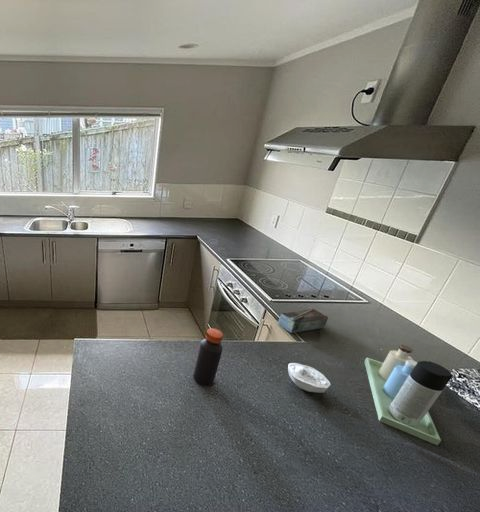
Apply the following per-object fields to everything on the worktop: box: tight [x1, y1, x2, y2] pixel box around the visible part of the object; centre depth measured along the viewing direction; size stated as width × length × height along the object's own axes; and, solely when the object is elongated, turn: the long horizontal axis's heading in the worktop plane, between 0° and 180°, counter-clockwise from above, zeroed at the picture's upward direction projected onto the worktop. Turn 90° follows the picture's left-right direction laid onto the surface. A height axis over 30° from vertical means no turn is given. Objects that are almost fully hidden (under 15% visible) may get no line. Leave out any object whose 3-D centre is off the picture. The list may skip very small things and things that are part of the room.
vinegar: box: [193, 327, 224, 387], centre depth 94 cm, size 7×7×20 cm
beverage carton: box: [277, 308, 329, 334], centre depth 128 cm, size 8×19×7 cm, turn 103°
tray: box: [363, 357, 442, 446], centre depth 93 cm, size 12×31×3 cm, turn 144°
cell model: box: [287, 362, 331, 393], centre depth 95 cm, size 10×12×7 cm
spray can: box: [388, 360, 453, 427], centre depth 82 cm, size 7×7×20 cm
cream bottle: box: [378, 344, 415, 381], centre depth 98 cm, size 6×6×14 cm
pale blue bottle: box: [382, 359, 418, 399], centre depth 91 cm, size 6×6×14 cm
